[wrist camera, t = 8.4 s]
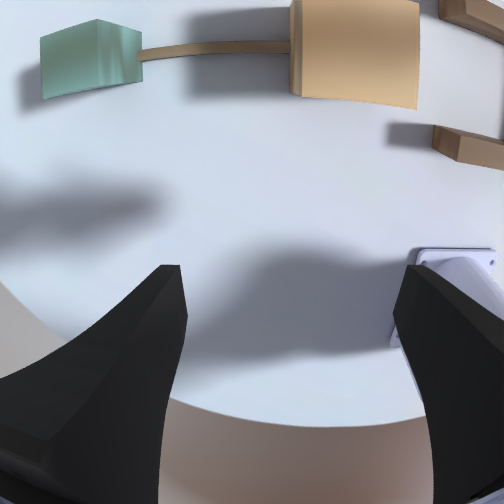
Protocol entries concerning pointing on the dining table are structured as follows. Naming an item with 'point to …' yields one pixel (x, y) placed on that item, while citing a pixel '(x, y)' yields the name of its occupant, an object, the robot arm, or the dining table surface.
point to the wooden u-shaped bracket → (457, 141)
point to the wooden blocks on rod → (300, 48)
